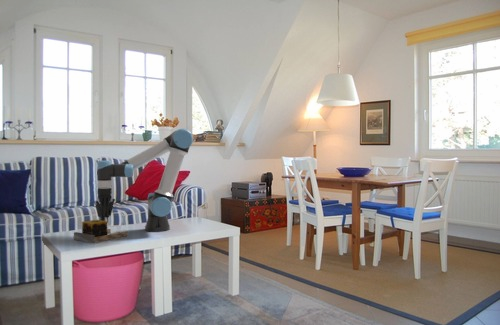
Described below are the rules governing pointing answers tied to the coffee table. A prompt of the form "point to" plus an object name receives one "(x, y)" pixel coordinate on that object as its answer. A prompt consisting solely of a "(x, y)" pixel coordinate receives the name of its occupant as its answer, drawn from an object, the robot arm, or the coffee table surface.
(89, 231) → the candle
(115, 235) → the bay
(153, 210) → the robot arm
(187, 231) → the coffee table surface
